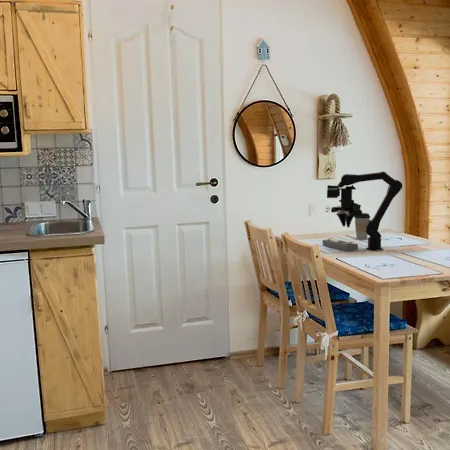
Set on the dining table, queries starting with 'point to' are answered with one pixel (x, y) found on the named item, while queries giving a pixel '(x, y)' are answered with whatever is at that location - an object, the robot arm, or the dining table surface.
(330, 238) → the rocker far
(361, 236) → the coffee cup
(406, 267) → the dining table surface
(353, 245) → the rocker switch box
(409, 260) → the dining table surface
